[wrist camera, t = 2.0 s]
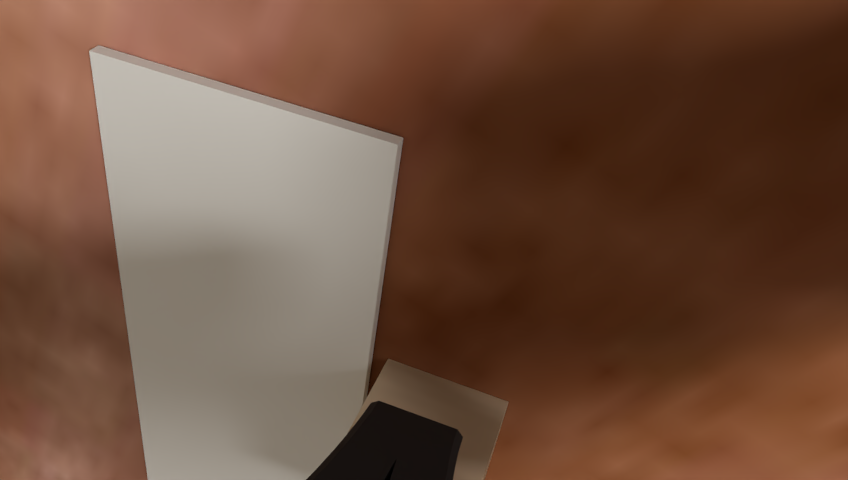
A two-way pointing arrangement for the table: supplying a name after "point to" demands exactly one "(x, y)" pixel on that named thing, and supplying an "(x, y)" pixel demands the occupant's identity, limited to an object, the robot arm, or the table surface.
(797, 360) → the table surface
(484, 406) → the tan and green sponge
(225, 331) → the mat
